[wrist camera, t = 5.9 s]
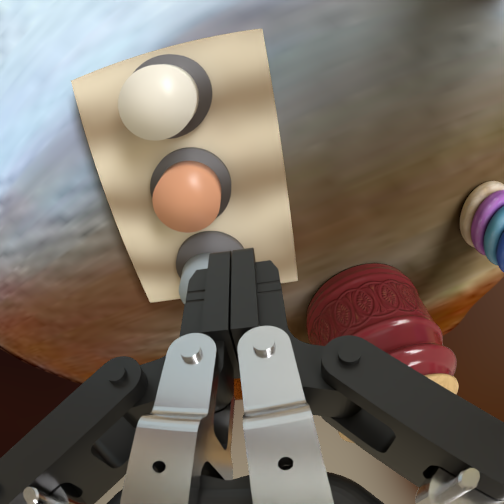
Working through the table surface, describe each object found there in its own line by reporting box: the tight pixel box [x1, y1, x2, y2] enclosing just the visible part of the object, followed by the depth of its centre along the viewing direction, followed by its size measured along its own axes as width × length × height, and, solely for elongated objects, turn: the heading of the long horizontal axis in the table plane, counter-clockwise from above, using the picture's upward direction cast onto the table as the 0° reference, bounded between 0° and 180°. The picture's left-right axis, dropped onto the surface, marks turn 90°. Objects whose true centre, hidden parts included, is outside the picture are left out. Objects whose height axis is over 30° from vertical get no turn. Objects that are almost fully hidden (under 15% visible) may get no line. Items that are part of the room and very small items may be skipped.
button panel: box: [71, 29, 298, 303], centre depth 24 cm, size 21×14×3 cm, turn 9°
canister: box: [306, 263, 458, 443], centre depth 28 cm, size 13×13×18 cm
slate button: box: [179, 253, 210, 304], centre depth 25 cm, size 5×5×2 cm
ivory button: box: [118, 64, 199, 141], centre depth 17 cm, size 5×5×2 cm
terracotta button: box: [152, 161, 221, 233], centre depth 22 cm, size 5×5×2 cm
